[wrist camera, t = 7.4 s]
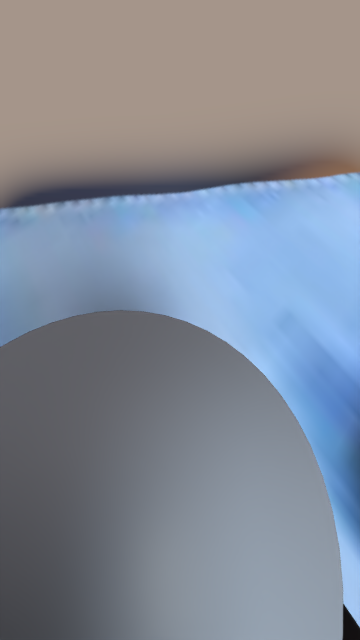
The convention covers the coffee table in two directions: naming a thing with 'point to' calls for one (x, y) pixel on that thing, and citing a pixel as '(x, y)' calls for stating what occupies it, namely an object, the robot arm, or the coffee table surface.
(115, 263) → the coffee table surface
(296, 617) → the grey rounded cylinder
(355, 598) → the coffee table surface
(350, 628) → the robot arm
